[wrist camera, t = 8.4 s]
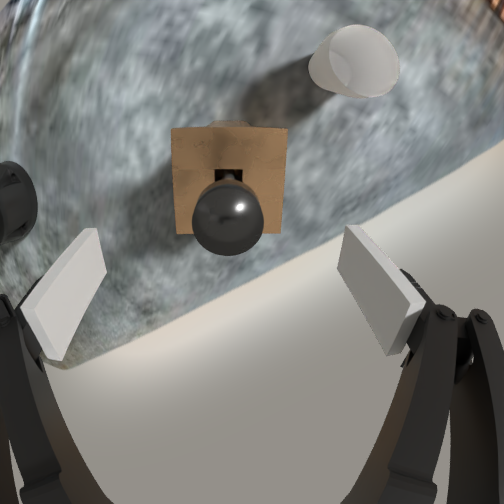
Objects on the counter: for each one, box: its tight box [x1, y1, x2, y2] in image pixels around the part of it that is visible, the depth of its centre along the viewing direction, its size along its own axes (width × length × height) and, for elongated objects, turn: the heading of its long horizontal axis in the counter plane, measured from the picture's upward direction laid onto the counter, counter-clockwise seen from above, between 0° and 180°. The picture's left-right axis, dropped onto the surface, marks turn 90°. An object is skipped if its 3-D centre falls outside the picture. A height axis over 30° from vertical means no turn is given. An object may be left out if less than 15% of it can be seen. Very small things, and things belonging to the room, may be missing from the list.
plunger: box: [192, 169, 264, 256], centre depth 26 cm, size 8×8×20 cm
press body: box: [171, 121, 288, 234], centre depth 33 cm, size 10×13×15 cm
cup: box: [308, 25, 400, 98], centre depth 28 cm, size 9×9×12 cm
